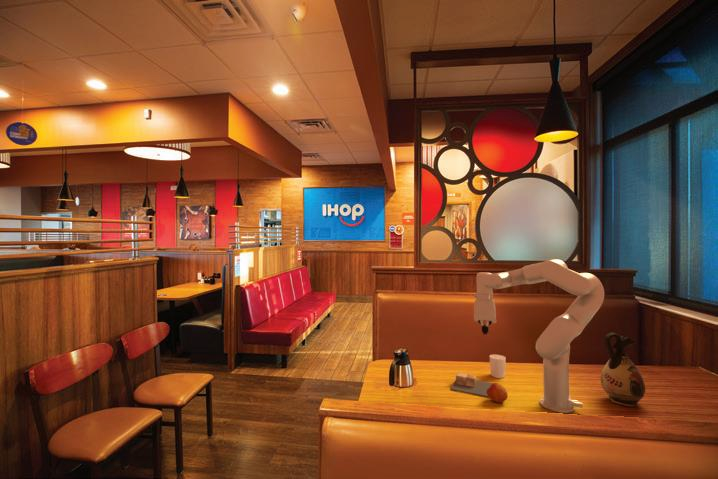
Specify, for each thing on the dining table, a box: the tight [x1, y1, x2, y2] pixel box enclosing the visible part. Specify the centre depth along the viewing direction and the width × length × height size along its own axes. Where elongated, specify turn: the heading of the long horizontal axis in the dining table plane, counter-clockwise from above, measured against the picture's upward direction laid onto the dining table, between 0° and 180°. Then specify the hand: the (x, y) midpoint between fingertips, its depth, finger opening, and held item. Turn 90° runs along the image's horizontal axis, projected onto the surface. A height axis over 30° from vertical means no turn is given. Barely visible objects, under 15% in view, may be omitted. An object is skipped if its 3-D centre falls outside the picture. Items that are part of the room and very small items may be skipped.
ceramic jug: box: [600, 332, 646, 408], centre depth 147 cm, size 17×15×30 cm
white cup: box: [489, 354, 507, 379], centre depth 176 cm, size 8×8×10 cm
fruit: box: [487, 382, 508, 404], centre depth 148 cm, size 8×8×8 cm
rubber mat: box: [450, 379, 494, 399], centre depth 162 cm, size 18×16×1 cm
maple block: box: [455, 372, 477, 387], centre depth 165 cm, size 4×4×9 cm
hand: (485, 333), depth 166 cm, fingers closed
